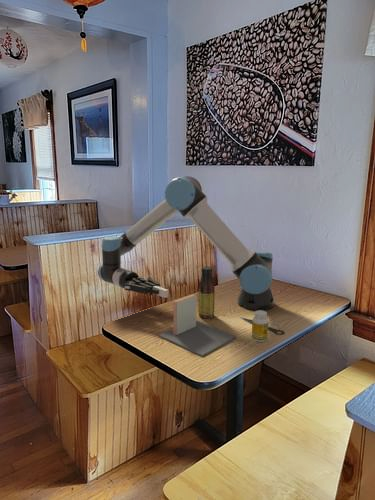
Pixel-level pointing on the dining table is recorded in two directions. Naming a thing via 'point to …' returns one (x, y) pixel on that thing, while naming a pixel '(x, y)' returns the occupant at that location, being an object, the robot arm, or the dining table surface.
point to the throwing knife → (268, 327)
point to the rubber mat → (199, 338)
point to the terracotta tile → (184, 314)
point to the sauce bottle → (206, 294)
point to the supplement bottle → (260, 326)
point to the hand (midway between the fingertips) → (166, 293)
